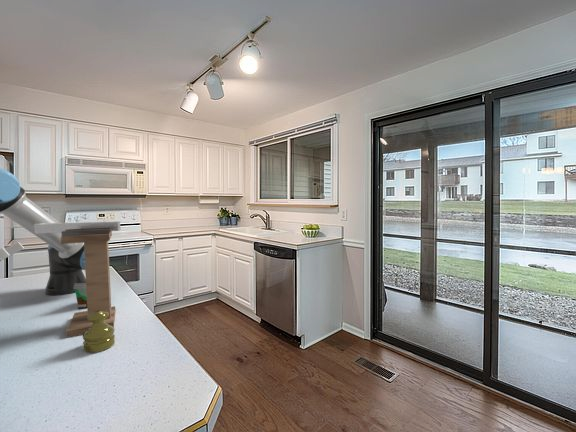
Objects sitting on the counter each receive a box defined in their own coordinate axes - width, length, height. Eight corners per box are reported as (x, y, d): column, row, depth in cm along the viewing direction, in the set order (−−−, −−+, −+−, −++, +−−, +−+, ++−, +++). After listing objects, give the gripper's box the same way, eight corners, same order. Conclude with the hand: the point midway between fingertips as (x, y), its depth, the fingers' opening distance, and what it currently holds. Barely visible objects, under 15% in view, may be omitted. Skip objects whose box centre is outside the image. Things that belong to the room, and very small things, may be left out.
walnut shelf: (75, 318, 100) (69, 227, 98) (115, 311, 106) (111, 225, 104) (66, 337, 86) (60, 232, 84) (113, 328, 92) (108, 229, 90)
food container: (88, 311, 107) (87, 284, 106) (74, 310, 108) (73, 283, 107) (114, 299, 119) (113, 275, 118) (102, 298, 120) (100, 275, 119)
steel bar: (39, 232, 97) (39, 223, 97) (120, 229, 103) (120, 221, 103) (34, 233, 94) (34, 224, 94) (118, 230, 100) (117, 222, 100)
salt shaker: (86, 343, 83) (85, 308, 82) (116, 338, 86) (115, 304, 85) (80, 356, 76) (78, 318, 76) (113, 349, 79) (111, 314, 79)
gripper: (-38, 290, 93) (34, 251, 102) (-89, 317, 72) (8, 265, 80) (-57, 271, 91) (18, 233, 99) (-115, 294, 69) (-12, 243, 77)
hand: (14, 248), depth 90 cm, fingers open, 13 cm apart
